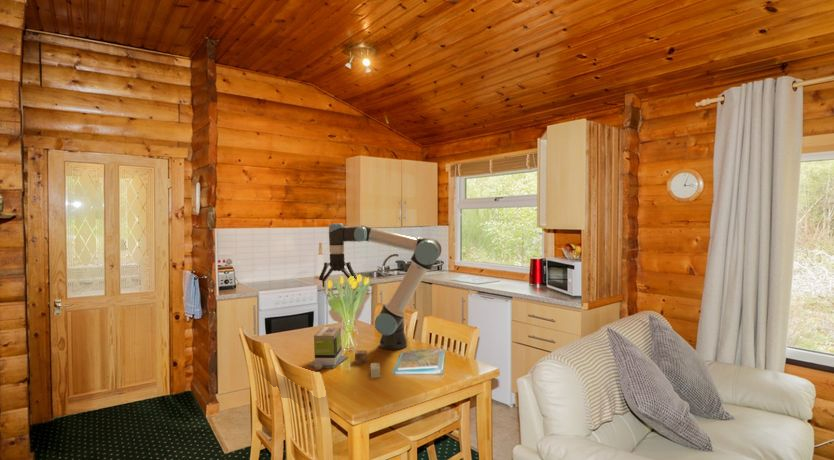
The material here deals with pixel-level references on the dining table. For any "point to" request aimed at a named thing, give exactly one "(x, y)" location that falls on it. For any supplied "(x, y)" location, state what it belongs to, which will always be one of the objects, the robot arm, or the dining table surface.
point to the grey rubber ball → (318, 365)
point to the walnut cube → (360, 357)
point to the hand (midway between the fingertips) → (338, 293)
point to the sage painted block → (375, 370)
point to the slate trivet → (332, 365)
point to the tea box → (328, 345)
